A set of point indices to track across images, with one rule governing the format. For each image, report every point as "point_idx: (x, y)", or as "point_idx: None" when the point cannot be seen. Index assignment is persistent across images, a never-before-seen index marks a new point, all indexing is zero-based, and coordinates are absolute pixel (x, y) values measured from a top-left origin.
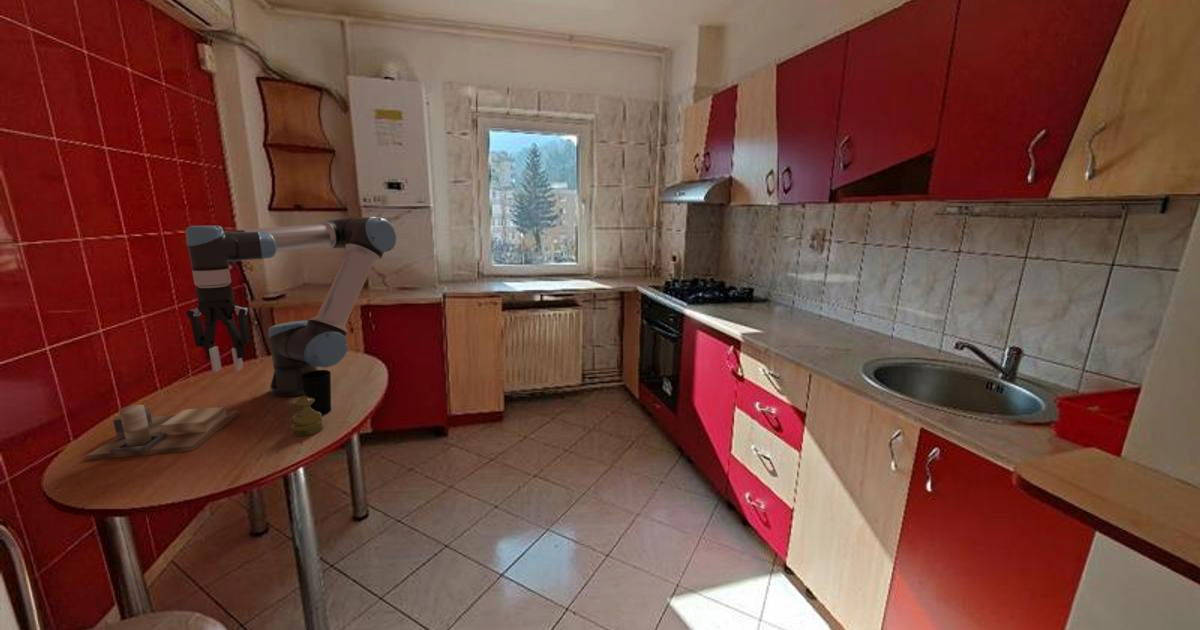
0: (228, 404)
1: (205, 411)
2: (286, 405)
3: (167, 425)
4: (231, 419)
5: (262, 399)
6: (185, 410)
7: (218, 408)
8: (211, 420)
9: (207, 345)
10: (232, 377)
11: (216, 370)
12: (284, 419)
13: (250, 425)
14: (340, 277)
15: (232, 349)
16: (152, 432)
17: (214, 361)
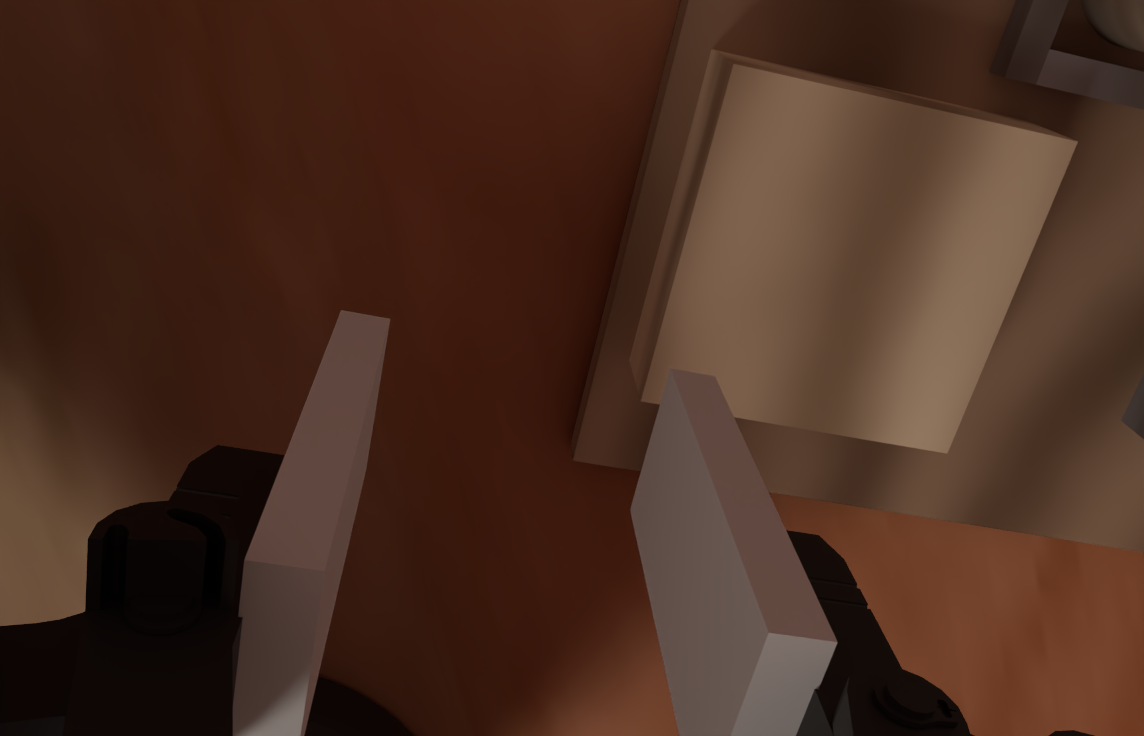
0: None
1: (777, 344)
2: None
3: (1021, 127)
4: (596, 344)
5: (469, 682)
6: (935, 430)
7: None
8: (696, 163)
9: (886, 725)
10: None
11: (669, 390)
12: (148, 178)
13: (410, 152)
14: None
15: (309, 543)
16: (1100, 228)
17: (702, 464)
